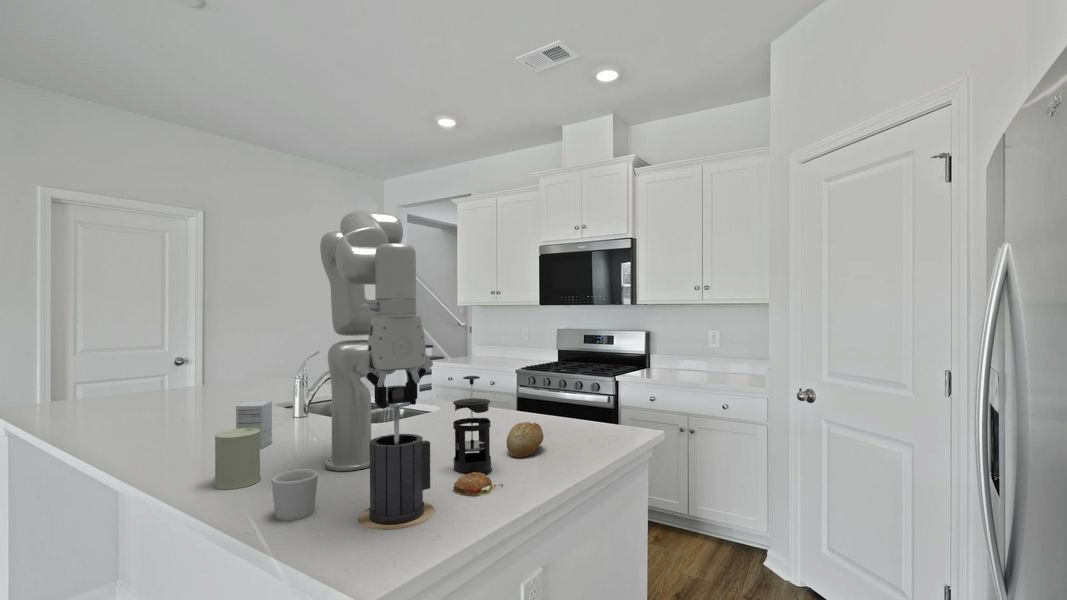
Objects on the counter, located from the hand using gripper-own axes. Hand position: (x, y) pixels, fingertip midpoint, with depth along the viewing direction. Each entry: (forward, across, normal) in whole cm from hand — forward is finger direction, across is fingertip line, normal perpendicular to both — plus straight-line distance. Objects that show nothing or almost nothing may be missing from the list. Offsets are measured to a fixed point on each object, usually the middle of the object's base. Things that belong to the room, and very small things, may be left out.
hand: (396, 404), depth 95 cm
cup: (+21, -14, +14) cm, 29 cm away
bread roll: (+22, +46, +20) cm, 55 cm away
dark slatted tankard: (+20, 0, 0) cm, 20 cm away
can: (+21, -20, +43) cm, 52 cm away
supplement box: (+21, -11, +77) cm, 81 cm away
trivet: (+21, 0, 0) cm, 21 cm away
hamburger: (+22, +20, +3) cm, 30 cm away
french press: (+21, +26, +15) cm, 37 cm away
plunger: (+18, 0, 0) cm, 18 cm away
